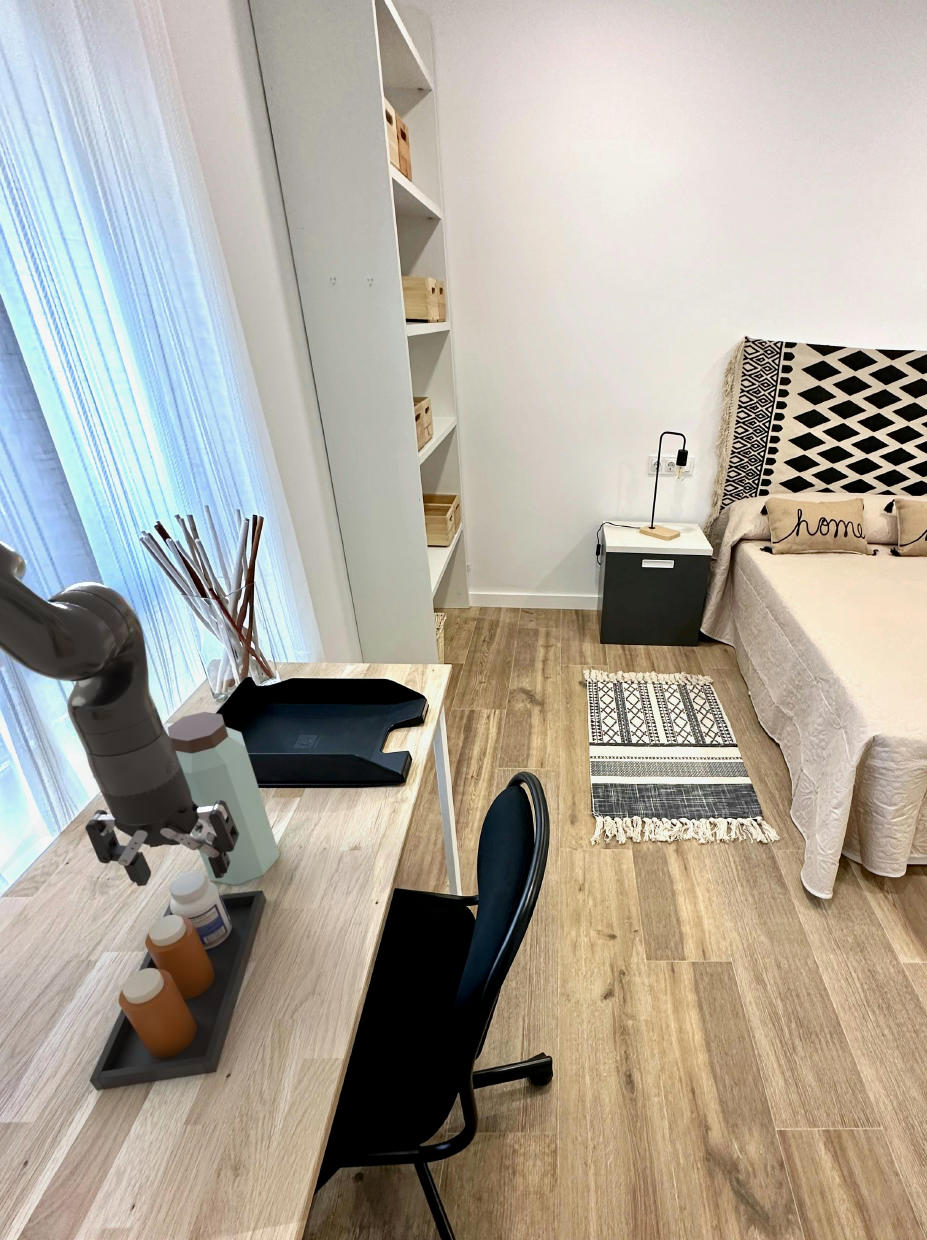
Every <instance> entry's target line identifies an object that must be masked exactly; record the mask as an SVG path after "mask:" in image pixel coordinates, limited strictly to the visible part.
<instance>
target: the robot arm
mask: <svg viewBox="0 0 927 1240" xmlns="http://www.w3.org/2000/svg"><path fill="white" fill-rule="evenodd" d="M26 572H27V564H26V561H25V558H24V557H23V556H22V555H21V554H20V553H19V552H17V551H16V550H15V549H13V548H12V547H11V546H9V545H8V544H7V543H4V542H3V541H1V540H0V650H1V651H2V652H4V653H5V654H6V655H7V656H8V657H10V658H11V659H12V660H13V661H15V662H16V663H18V664H19V665H20V666H22V667H24V668H25V669H27V670H29V671H31V672H33V673H35V674H37V675H40V676H41V677H45V678H48V679H52V680H56V681H62V682H75V683H74V686H73V689H72V690H71V692H70V694H69V697H68V699H67V705H66V708H67V713H68V714H67V715H68V717H69V719H70V721H71V724H72V726H73V728H74V730H75V732H76V734H77V736H78V739H79V741H80V743H81V745H82V747H83V750H84V752H85V756H86V759H87V763H88V766H89V769H90V772H91V773H92V777H93V778H94V780H95V782H96V784H97V786H98V789H99V791H100V792H101V794H102V797H103V799H104V801H105V803H106V805H107V808H108V810H109V811H110V814H108V812H107V811H106V810H104V809H97V810H96V811H95V812H94V813H93V815H92V816H91V817H90V819H89V820H88V822H87V823H86V825H85V827H84V828H85V831H86V834H87V836H88V838H89V840H90V843H91V845H92V848H93V850H94V852H95V855H96V858H97V859H98V862H100V863H101V864H106V865H107V864H110V863H111V862H117V864H118V865H120V866H123V867H124V869H125V872H126V874H127V876H128V878H129V880H130V881H131V882H132V883H135V884H136V885H137V887H144V886H147V884H148V882H149V880H150V878H151V876H152V870H151V868H150V866H149V864H148V861H147V859H146V857H145V854H144V853H143V851H140V849H141V847H142V845H146V846H149V848H158V847H162V846H180V845H182V846H184V847H186V848H188V849H189V850H190V851H196V850H198V852H199V851H201V852H203V853H205V854H206V855H208V856H209V857H208V860H209V862H210V865H211V868H212V870H213V873H214V876H215V878H223V877H224V874H225V873H227V870H228V868H229V865H230V859H229V856H228V854H227V852H232V851H233V850H234V847H235V845H236V842H237V840H238V837H239V832H238V830H237V827H236V825H235V823H234V820H233V818H232V816H231V813H230V811H229V809H228V806H227V804H226V802H225V801H223V800H218V801H216V802H215V804H214V806H209V807H201V808H200V807H199V806H198V805H196V804H195V803H194V802H193V800H192V797H191V792H190V788H189V786H188V783H187V780H186V778H185V775H184V772H183V769H182V767H181V764H180V762H179V759H178V756H177V754H176V751H175V748H174V745H173V743H172V741H171V739H170V737H169V733H168V732H167V731H166V728H165V727H164V724H163V722H162V719H161V716H160V715H159V711H158V708H157V706H156V703H155V701H154V699H153V696H152V694H151V691H150V682H149V679H150V678H149V677H150V675H149V665H148V664H149V663H148V657H147V648H146V640H145V636H144V631H143V627H142V624H141V622H140V619H139V616H138V615H137V613H136V611H135V609H134V608H133V606H132V605H131V604H130V603H129V601H128V600H127V599H126V598H125V597H124V596H122V594H120V592H117V591H116V590H115V589H113V588H111V587H109V586H107V585H105V584H102V583H99V582H98V583H97V582H91V581H89V582H88V581H86V582H85V581H84V582H78V583H77V582H76V583H74V584H71V585H69V586H67V587H64V588H63V589H62V590H60V591H58V592H57V593H56V594H54V595H53V596H51V597H50V598H48V599H47V600H46V599H44V598H43V597H41V596H40V595H38V594H37V593H36V592H35V591H33V590H32V589H31V588H30V587H29V586H27V585H26V584H25V583H24V582H23V580H24V578H25V576H26ZM200 819H203V820H205V821H206V822H207V823H208V824H207V823H205V822H204V821H202V820H200ZM210 827H213V829H214V831H215V832H214V831H212V830H211V829H210ZM115 828H116V829H117V830H118V831H120V832H122V833H124V834H126V835H127V836H129V837H130V839H129V841H128V843H127V844H126V845H123V844H120V842H119V840H118V837H117V834H116V832H115ZM193 829H195V831H196V835H195V837H193V835H191V834H192V833H191V832H192V830H193ZM205 839H206V840H208V841H209V842H211V844H210V843H208V842H206V840H205Z"/></svg>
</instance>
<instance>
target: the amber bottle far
mask: <svg viewBox="0 0 927 1240" xmlns="http://www.w3.org/2000/svg"><path fill="white" fill-rule="evenodd" d="M118 1004H119V1007H120V1008H121V1009H123V1011H124V1013H125V1014H126V1016H127V1018H128V1019H129V1021H130V1022H131V1024H132V1026H133V1027H134V1029H135V1030H136V1032H137V1034H138V1035H139V1037H140V1038H141V1040H142V1042H143V1043H144V1045H145V1047H146V1048H147V1050H148V1051H149V1053H150V1054H151V1055H152V1056H153V1057H155V1058H159V1059H165V1058H169V1057H172V1056H175V1055H177V1054H179V1053H180V1052H182V1051H183V1050H184V1049H186V1048H187V1047H188V1046H189V1045H190V1044H191V1042H192V1041H193V1039H194V1037H195V1035H196V1032H197V1025H196V1022H195V1021H194V1019H193V1017H192V1015H191V1013H190V1011H189V1009H188V1007H187V1005H186V1003H185V1001H184V999H183V998H182V996H181V994H180V992H179V990H178V988H177V986H176V984H175V982H174V980H173V978H172V977H171V975H170V973H169V972H167V971H165V970H162V969H154V968H147V969H143V970H140V971H139V970H138V971H136V972H135V973H133V974H132V975H130V976H129V977H128V978H127V979H126V980H125V982H124V984H123V985H122V989H121V991H120V993H119V995H118Z"/></svg>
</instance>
